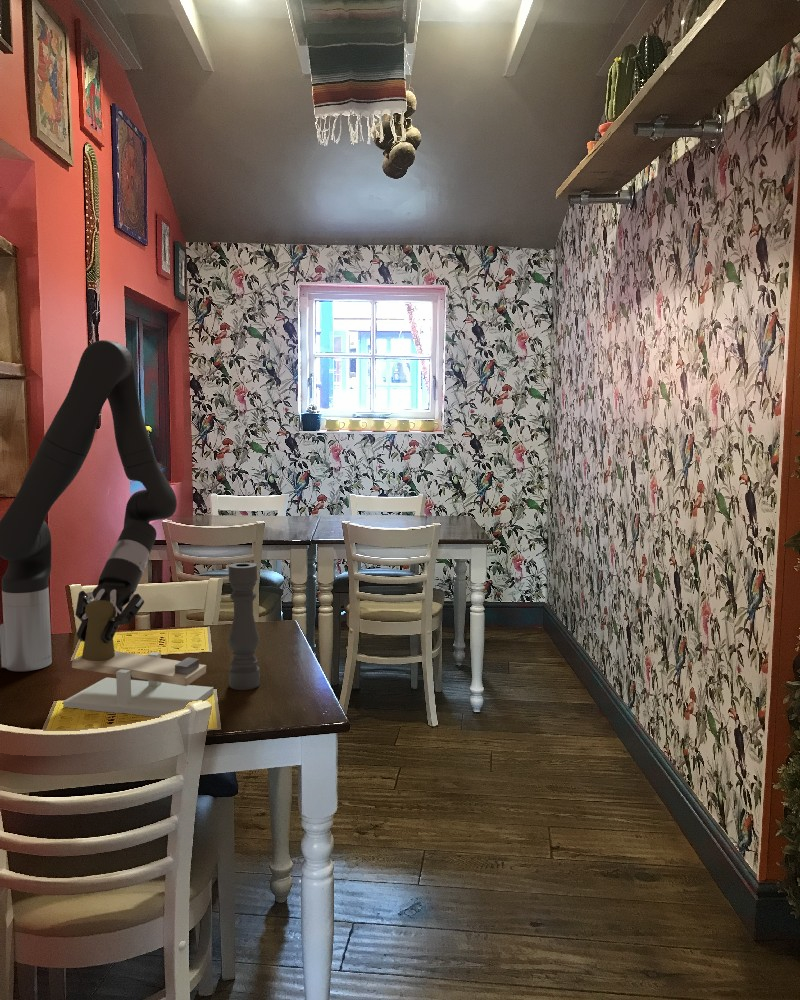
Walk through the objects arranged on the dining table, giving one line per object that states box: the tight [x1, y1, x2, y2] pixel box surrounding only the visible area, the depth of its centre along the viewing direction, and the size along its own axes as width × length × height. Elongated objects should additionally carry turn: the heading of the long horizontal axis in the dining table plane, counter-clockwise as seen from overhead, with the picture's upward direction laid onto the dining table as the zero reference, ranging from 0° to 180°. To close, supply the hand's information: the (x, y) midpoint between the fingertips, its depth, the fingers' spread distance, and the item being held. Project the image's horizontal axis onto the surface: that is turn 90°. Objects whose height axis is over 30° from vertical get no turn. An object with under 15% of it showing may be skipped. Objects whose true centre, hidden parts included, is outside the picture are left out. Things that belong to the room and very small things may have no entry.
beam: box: [71, 650, 207, 686], centre depth 154 cm, size 24×8×4 cm, turn 77°
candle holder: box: [228, 562, 261, 691], centre depth 162 cm, size 6×6×25 cm
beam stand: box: [62, 651, 214, 718], centre depth 154 cm, size 24×14×8 cm, turn 77°
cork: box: [81, 600, 115, 661], centre depth 155 cm, size 6×6×11 cm
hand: (92, 640), depth 153 cm, fingers open, 4 cm apart
